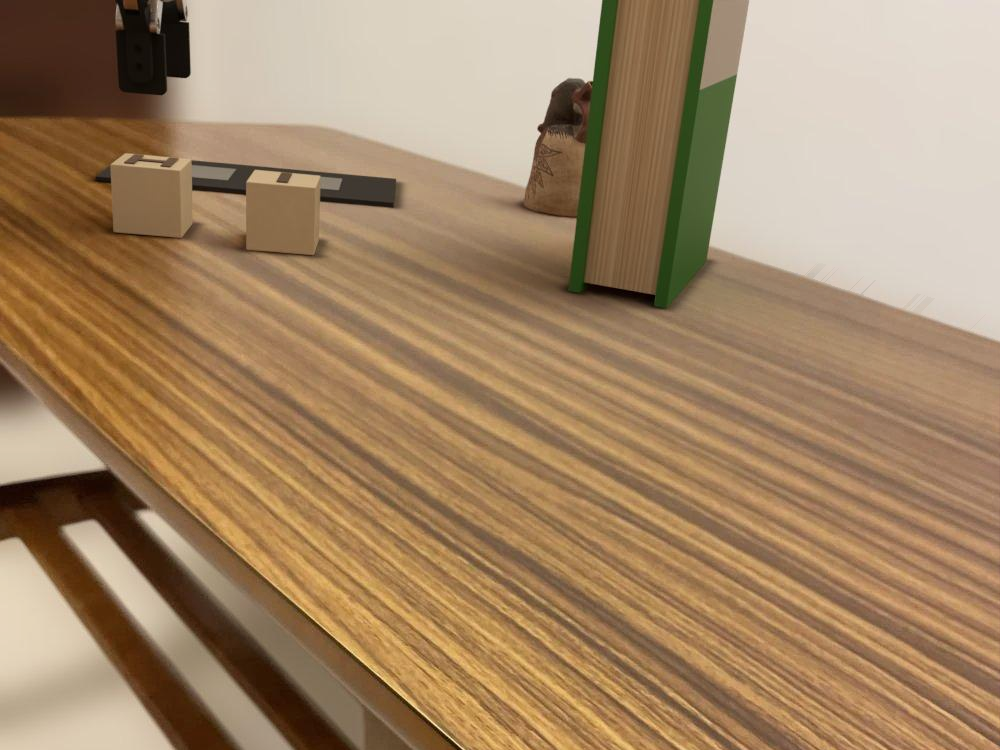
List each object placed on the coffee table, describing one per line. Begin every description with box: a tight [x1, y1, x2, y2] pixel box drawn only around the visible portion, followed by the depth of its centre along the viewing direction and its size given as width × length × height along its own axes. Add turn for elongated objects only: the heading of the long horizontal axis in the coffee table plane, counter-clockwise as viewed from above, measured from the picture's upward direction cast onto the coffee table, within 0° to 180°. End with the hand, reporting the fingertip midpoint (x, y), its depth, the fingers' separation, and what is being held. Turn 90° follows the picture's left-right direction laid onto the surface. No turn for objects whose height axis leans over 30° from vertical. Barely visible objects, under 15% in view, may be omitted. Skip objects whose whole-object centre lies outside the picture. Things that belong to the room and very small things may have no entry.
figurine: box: [523, 77, 593, 218], centre depth 116 cm, size 7×7×12 cm
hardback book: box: [567, 0, 750, 309], centre depth 93 cm, size 18×7×24 cm, turn 163°
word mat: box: [95, 159, 397, 208], centre depth 115 cm, size 26×12×1 cm, turn 95°
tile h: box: [109, 152, 194, 239], centre depth 94 cm, size 5×5×5 cm
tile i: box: [245, 170, 321, 256], centre depth 93 cm, size 5×5×5 cm
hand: (156, 84), depth 91 cm, fingers open, 9 cm apart
